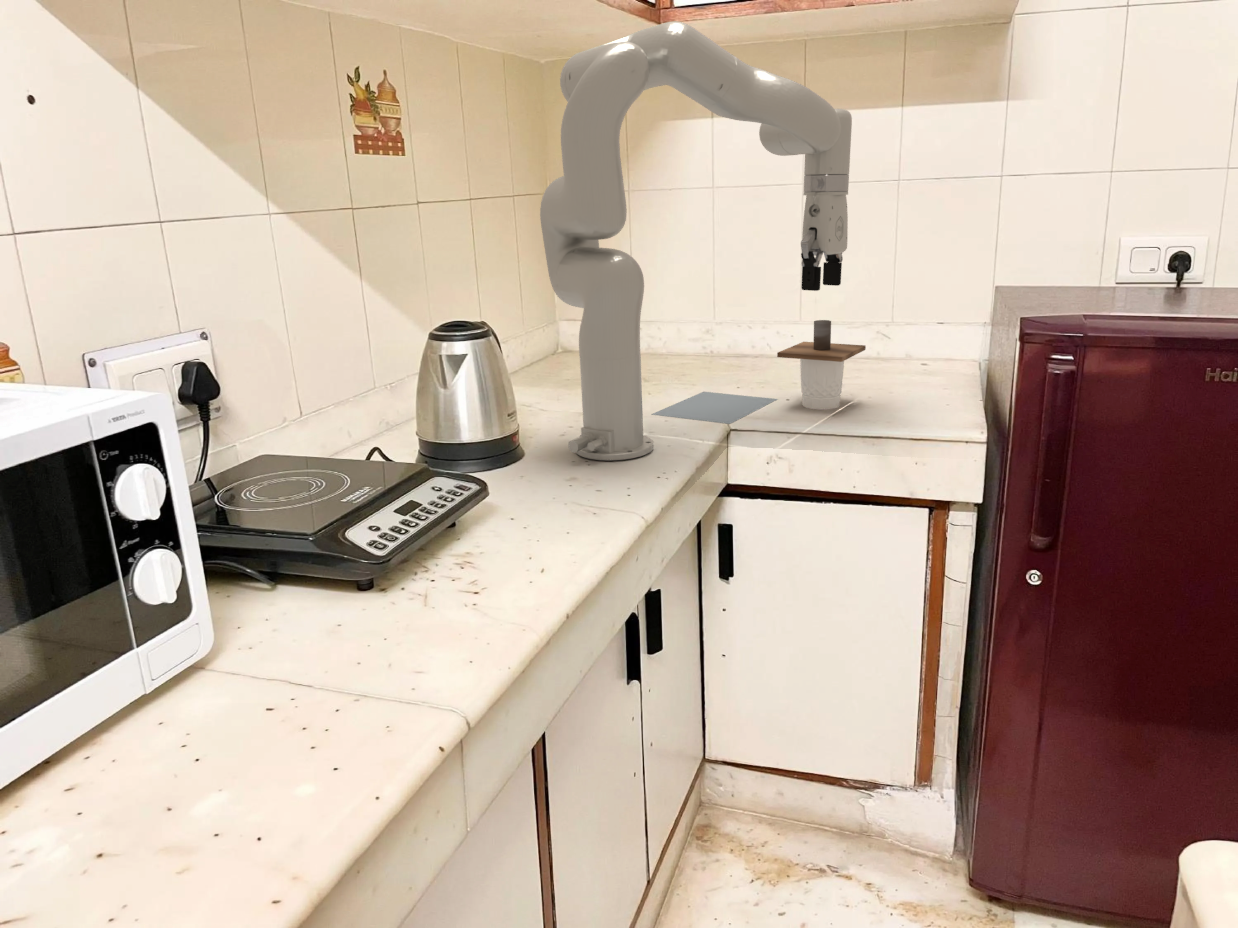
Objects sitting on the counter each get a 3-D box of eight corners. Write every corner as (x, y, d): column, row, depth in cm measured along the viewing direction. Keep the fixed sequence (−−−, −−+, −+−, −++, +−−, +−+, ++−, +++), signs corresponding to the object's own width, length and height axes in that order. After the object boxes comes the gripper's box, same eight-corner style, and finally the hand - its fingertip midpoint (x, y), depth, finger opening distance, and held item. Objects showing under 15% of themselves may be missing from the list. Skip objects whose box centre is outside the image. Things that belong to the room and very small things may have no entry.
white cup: (793, 410, 167) (794, 356, 164) (806, 400, 174) (807, 348, 171) (836, 413, 164) (838, 358, 161) (847, 403, 170) (849, 350, 167)
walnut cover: (841, 361, 158) (842, 328, 156) (777, 357, 164) (777, 324, 162) (865, 349, 167) (866, 318, 165) (803, 345, 174) (804, 315, 172)
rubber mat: (729, 426, 158) (729, 423, 158) (651, 416, 167) (651, 414, 167) (777, 401, 174) (777, 399, 174) (703, 393, 183) (703, 391, 183)
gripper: (828, 186, 148) (823, 293, 153) (864, 186, 162) (858, 284, 167) (784, 187, 152) (781, 291, 157) (824, 186, 166) (819, 282, 171)
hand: (821, 287), depth 162 cm, fingers open, 9 cm apart
